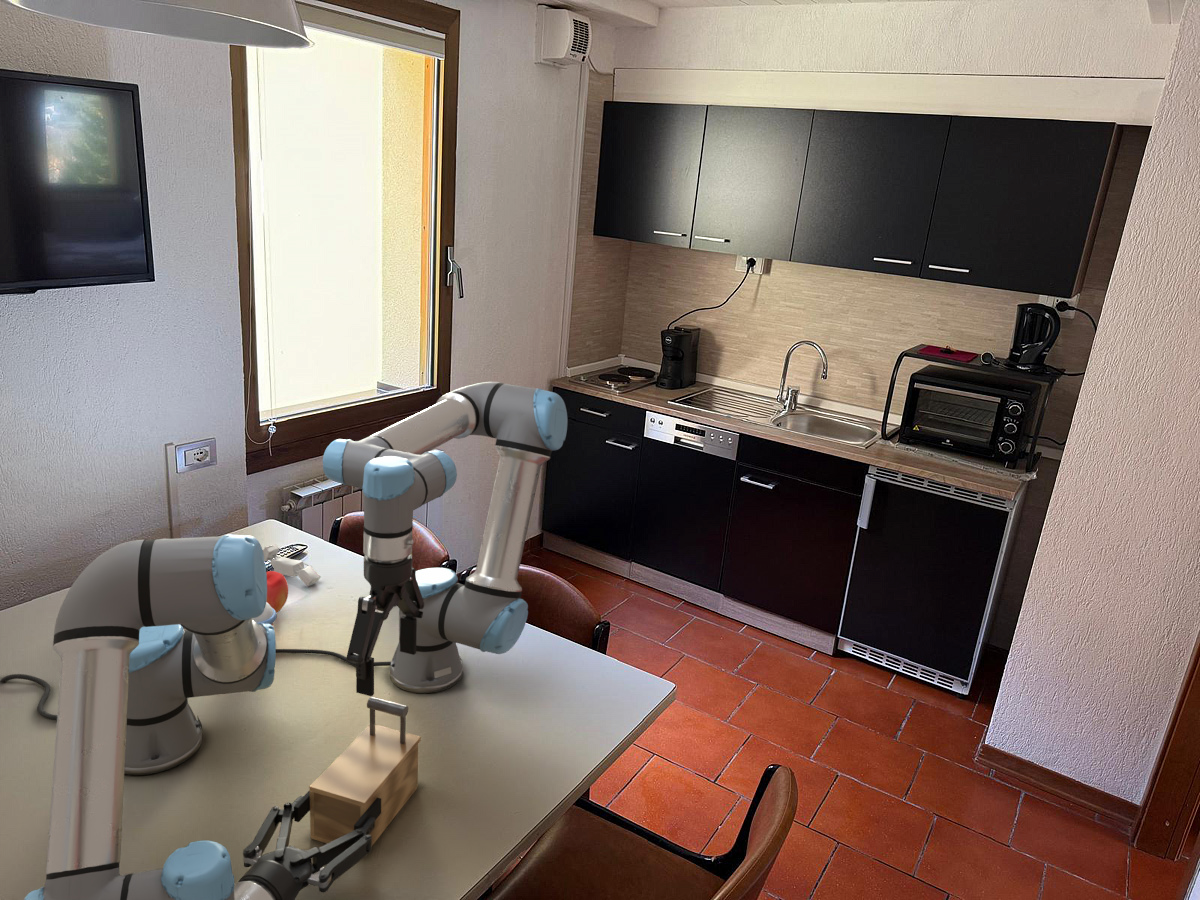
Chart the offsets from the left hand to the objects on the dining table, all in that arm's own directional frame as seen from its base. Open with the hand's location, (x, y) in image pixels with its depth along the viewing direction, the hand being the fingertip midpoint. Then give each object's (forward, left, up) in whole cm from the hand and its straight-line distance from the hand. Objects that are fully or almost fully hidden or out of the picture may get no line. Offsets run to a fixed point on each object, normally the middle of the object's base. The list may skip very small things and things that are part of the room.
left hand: (349, 796), depth 136 cm
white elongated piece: (-64, +72, -7) cm, 97 cm away
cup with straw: (-46, +36, -7) cm, 59 cm away
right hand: (0, +11, +16) cm, 20 cm away
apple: (-56, +53, -7) cm, 77 cm away
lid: (0, +5, +2) cm, 6 cm away
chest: (0, +5, -7) cm, 8 cm away
